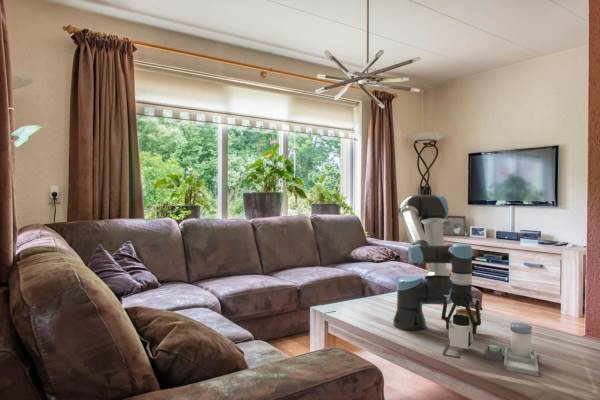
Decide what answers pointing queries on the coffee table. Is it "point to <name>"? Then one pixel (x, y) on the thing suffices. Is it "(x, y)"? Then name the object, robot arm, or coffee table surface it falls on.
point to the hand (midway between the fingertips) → (460, 339)
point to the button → (494, 348)
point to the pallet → (514, 361)
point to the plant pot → (464, 311)
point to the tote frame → (446, 354)
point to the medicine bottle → (460, 331)
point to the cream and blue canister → (521, 340)
